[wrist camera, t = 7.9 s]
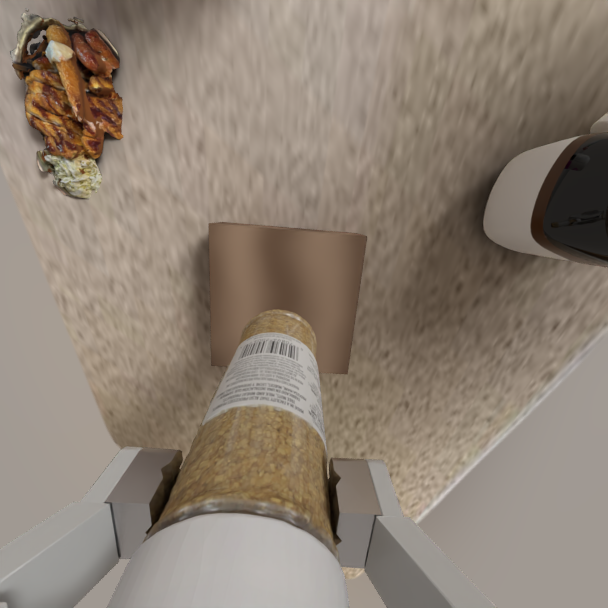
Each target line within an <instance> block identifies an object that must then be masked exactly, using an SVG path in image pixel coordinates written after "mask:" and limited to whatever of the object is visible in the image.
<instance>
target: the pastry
mask: <svg viewBox="0 0 608 608" xmlns="http://www.w3.org/2000/svg"><path fill="white" fill-rule="evenodd" d="M26 11H27V12H28V11H29V10H28V9H27V8H26ZM21 18H22V20H23V21H24V22H23V23H21V24H22V26H21V29H20V31H19V32H18V34H17V41H18V43H17V46H16V48H15V49H14V50H12V51H11V52H10V54H11V58H12V62H13V65H12V66H13V67H14V69H15V72H16V74H17V76H18V77H19V79H20V80H22V78H23V79H24V81H25V86H26V93H25V111H26V117H27V119H28V121H29V124H30V126H32V127H33V128H35V129H37V130H39V132H40V133H41V135H42V136H43V140H44V141H45V144H46V147H47V149H44V151H43V152H44V156H43V152H42V151H37V163H38V167H39V169H40V170H41V171H42V172H49V173H51V174H53V175H54V178H55V180H53V184H54V185H55V186H56V187H57V188H58V189H59V190H60V191H61V192H62V193H63V194H64V195H69V196H74V197H80V198H88V199H90V195H91V193H92V192H91V191H92V189H93V190H95V193H97V191H98V189H99V186H100V183H101V180H102V177H101V176H102V175H101V174H100V172H99V169H98V166H97V165H96V162H95V159H96V158H98V157H99V156H100V155H101V153H102V149H103V139H104V133H105V131H106V132H107V133H109V134H110V135H111V137H115V138H117V139H122V138H123V135H122V134H121V124H122V112H123V107H122V97H119V95H118V93H115V91H114V88H113V85H112V83H113V82H112V76H111V74H110V73H111V72H112V68H113V69H116V68H119V63H120V60H119V56H118V53H117V51H116V49H115V48H114V47H113V45H112V44H111V43H110V41H109V40H108V38H107V37H106V36H105V35H104V33H102V32H101V31H99V30H97V29H92V30H88V29H86V28H85V27H84V26H83V25H81V24H78V22H75V20H77V21H79V22H81V23H83V22H84V21H83V20H82V19H78V18H77V17H74V19H75V20H73V19H72V18H70V19H68V21H72V22H74V23H75V25H71V26H72V27H71V26H65V25H64V24H61V23H60V22H59V21H58V20H56V19H53V18H41V17H40V16H38V15H34V14H30V15H27V14H26V13H23V14H22V16H21ZM42 30H45V31H46V36H45V35H43V36H42V37H43V39H44V40H43V42H42V43H41V44H40V42H39V43H36V44H32V45H31V46H30V53H31V55H27V54H28V51H27V45H28V42H29V41H31V39H32V38H34V39H35V38H37V37H38V36H39V35H40V31H42ZM34 50H37V51H36V52H35V53H34ZM33 53H34V54H33ZM55 88H56V89H55ZM52 164H53V165H54V166H53V165H52Z"/></svg>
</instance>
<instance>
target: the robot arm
mask: <svg viewBox="0 0 608 608" xmlns="http://www.w3.org/2000/svg"><path fill="white" fill-rule="evenodd" d="M182 461H183V458H182V451H180V450H172V449H160V448H148V447H144V448H143V447H131V446H126V447H124V448H123V449H121V450H120V451H119V452H118V453H117V455H116V456H115V457H114V459H113V460H112V461H111V463H110V464H109V465H108V466H107V468H106V469H105V470H104V472H103V473H102V474H101V476H100V477H99V478H98V479H97V481H96V482H95V483H94V484H93V486H92V487H91V488H90V490H89V491H88V492H87V494H86V495H85V496H84V497H83V499H82V500H81V501H80V502H73V503H71V504H70V505H68V506H66V507H65V508H63V509H62V510H60V511H59V512H57V513H55V514H54V515H52V516H51V517H49V518H48V519H46V520H44V521H43V522H41V523H40V524H38V525H37V526H35V527H34V528H32V529H31V530H29V531H27V532H26V533H24V534H22V535H21V536H19V537H18V538H16V539H15V540H13V541H11V542H10V543H9V544H7V545H5V546H4V547H2V548H0V608H73V607H74V606H75V605H76V604H77V603H78V602H79V601H80V600H81V599H82V598H83V597H84V596H85V595H86V594H87V593H88V592H89V591H90V590H91V589H92V588H93V587H94V586H95V585H96V584H97V583H98V582H99V581H100V580H101V579H102V578H103V577H104V576H105V575H106V574H107V573H108V572H109V571H110V570H111V569H112V568H113V567H114V566H115V565H116V564H117V563H118V562H119V559H131V558H132V556H133V554H134V553H135V551H136V550H137V549H138V548H139V547H140V546H141V545H142V543H143V541H144V539H145V537H146V536H147V534H148V533H149V532H150V530H151V529H152V527H153V525H154V524H155V523H156V522H158V520H159V518H160V515H161V514H162V512H163V510H164V508H165V505H166V504H167V502H168V501H169V497H170V493H171V491H172V488H173V487H174V485H175V484H176V479H177V477H178V475H179V473H180V469H179V468H180V465H181V463H182ZM329 475H330V478H329V479H328V485H329V491H328V492H329V503H330V510H331V522H332V532H333V541H334V543H335V545H336V547H337V550H338V553H339V559H340V566H341V567H351V568H365V572H366V574H367V576H368V577H369V579H370V580H371V582H372V584H373V585H374V587H375V589H376V590H377V592H378V594H379V595H380V597H381V599H382V600H383V602H384V604H385V605H386V607H387V608H497V607H496V606H495V605H494V604H493V603H492V602H491V601H490V600H489V599H488V598H487V597H486V596H485V595H484V593H482V591H481V590H480V589H479V588H478V587H477V586H476V585H475V584H474V583H473V582H472V581H471V580H470V579H469V578H468V577H467V576H466V575H465V574H464V573H463V572H462V571H461V570H460V569H459V568H458V567H457V566H456V565H455V564H454V562H452V560H451V559H450V558H449V557H448V556H447V555H446V554H445V553H444V552H443V551H442V550H441V549H440V548H439V547H438V546H437V545H436V544H435V543H434V542H433V541H432V540H431V539H430V538H429V537H428V536H427V535H426V534H425V533H424V532H423V531H422V529H421V528H419V527H418V525H417V524H416V523H415V522H414V521H413V520H412V519H411V518H410V517H404V515H403V512H402V510H401V507H400V504H399V501H398V498H397V495H396V493H395V490H394V487H393V484H392V481H391V478H390V475H389V473H388V470H387V467H386V464H385V462H384V461H383V460H372V459H365V460H364V459H349V458H331V459H330V464H329Z"/></svg>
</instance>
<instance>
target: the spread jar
mask: <svg viewBox="0 0 608 608" xmlns="http://www.w3.org/2000/svg"><path fill="white" fill-rule="evenodd" d="M483 229H484V232H485V234H486V235H487V236H488V238H490V239H491V240H492V241H493V242H495V243H497V244H499V245H501V246H503V247H505V248H507V249H510V250H513V251H517V252H521V253H525V254H530V255H536V256H542V257H548V258H554V259H560V260H566V261H572V262H578V263H583V264H589V265H596V266H602V267H608V112H607V113H606V114H605V115H604V116H602V117H601V118H600V119H599V120H598V121H596V122H595V123H594V124H593V125H592V127H591V129H590V134H586V135H581V136H577V137H573V138H569V139H565V140H562V141H558V142H554V143H551V144H547V145H544V146H540V147H537V148H534V149H531V150H528V151H525V152H523V153H521V154H519V155H518V156H516V157H515V158H513V159H512V160H511V161H510V162H509V163H508V164H507V165H506V166H505V168H504V169H503V171H502V172H501V173H500V175H499V176H498V178H497V180H496V181H495V183H494V185H493V187H492V189H491V191H490V194H489V196H488V199H487V202H486V205H485V210H484V215H483Z"/></svg>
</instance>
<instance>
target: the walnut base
mask: <svg viewBox="0 0 608 608" xmlns="http://www.w3.org/2000/svg"><path fill="white" fill-rule="evenodd" d="M366 241H367V236H364V235H361V234H358V233H347V232H335V231H323V230H311V229H298V228H286V227H274V226H262V225H250V224H238V223H226V222H219V223H209V269H210V320H211V366H225V367H228V365H229V363H230V362H231V360H232V358H233V356H234V354H235V351H236V349H237V347H238V345H239V343H240V338H241V334H242V331H243V329H244V327H245V326H246V324H247V323H248V322H249V321H250V320H251V319H252V318H254V317H255V316H257V315H258V314H260V313H262V312H265V311H269V310H277V309H279V310H287V311H290V312H293V313H296V314H298V315H299V316H301V317H302V318H303V319H305V320H306V321H307V322H308V324H309V325H310V326H311V328H312V330H313V331H314V333H315V336H316V342H317V348H316V353H315V355H316V362H317V365H318V371H319V373H335V374H347V373H348V366H349V359H350V352H351V345H352V338H353V331H354V324H355V317H356V311H357V304H358V297H359V290H360V283H361V276H362V269H363V262H364V255H365V248H366Z"/></svg>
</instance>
